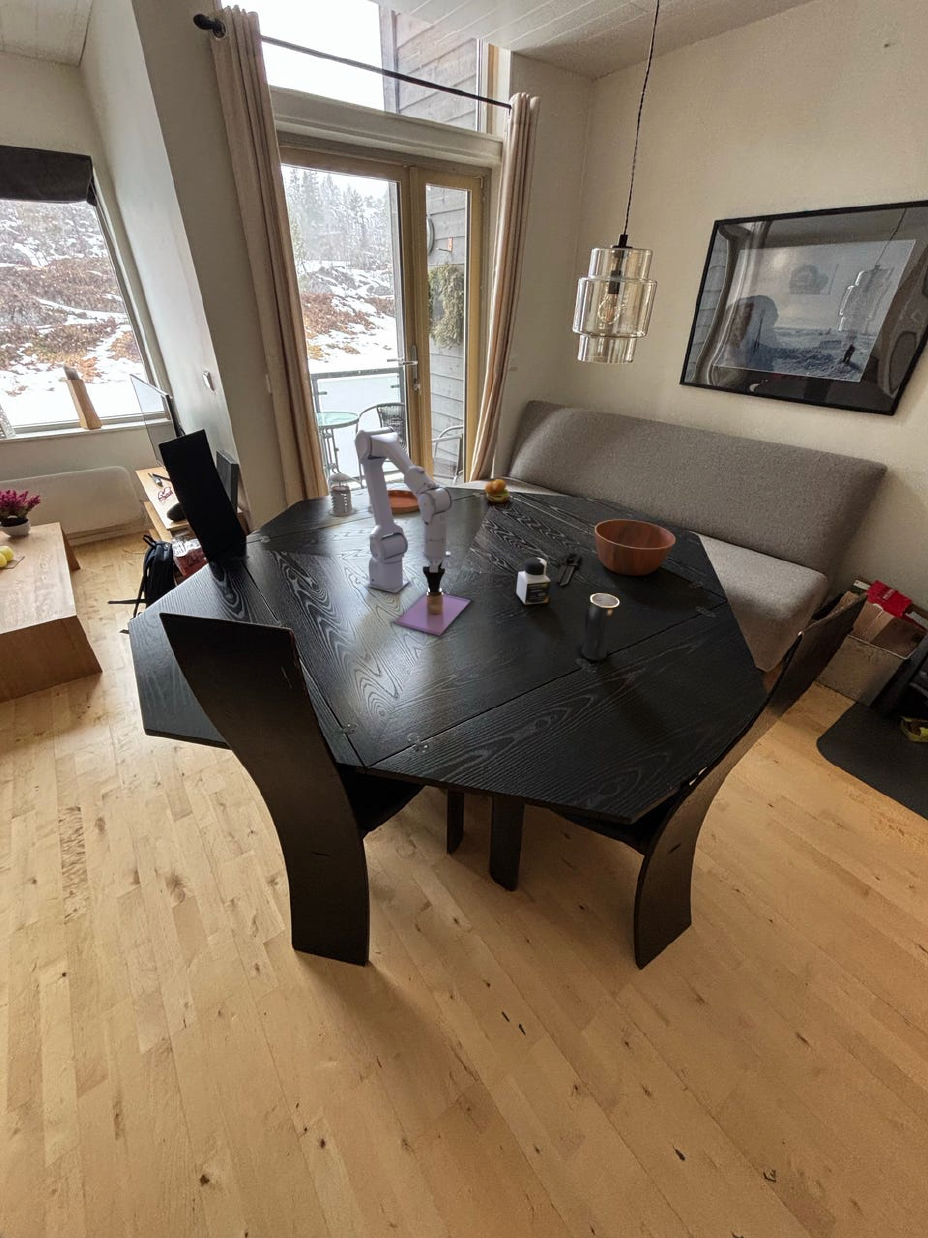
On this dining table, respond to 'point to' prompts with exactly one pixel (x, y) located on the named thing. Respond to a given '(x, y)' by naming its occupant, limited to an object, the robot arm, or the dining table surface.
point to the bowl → (632, 546)
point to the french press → (336, 492)
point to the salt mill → (435, 602)
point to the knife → (570, 568)
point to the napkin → (433, 623)
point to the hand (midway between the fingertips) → (434, 584)
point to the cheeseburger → (497, 491)
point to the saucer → (402, 501)
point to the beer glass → (599, 625)
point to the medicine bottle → (533, 582)
